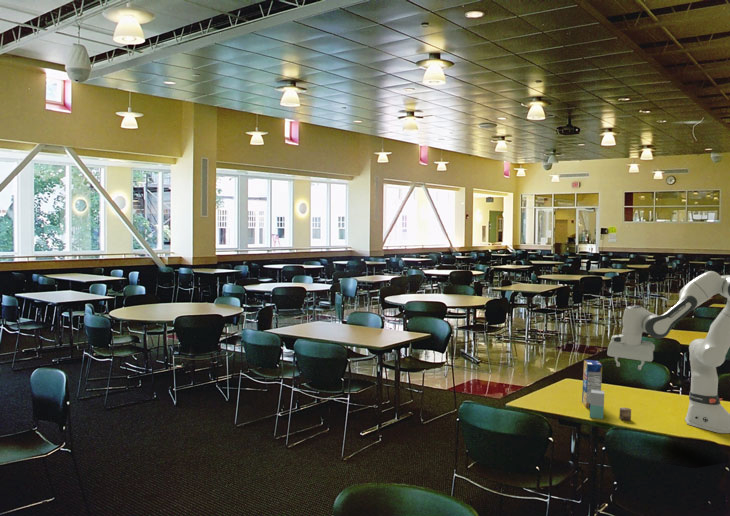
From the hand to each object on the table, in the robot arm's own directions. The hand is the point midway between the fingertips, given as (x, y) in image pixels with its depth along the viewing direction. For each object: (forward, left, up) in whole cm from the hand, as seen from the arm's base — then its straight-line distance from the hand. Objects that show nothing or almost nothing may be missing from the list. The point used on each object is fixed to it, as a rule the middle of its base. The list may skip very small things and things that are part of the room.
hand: (628, 367), depth 296 cm
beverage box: (+22, 0, -24) cm, 33 cm away
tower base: (+6, +12, -24) cm, 28 cm away
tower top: (+6, +12, -18) cm, 23 cm away
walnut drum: (-2, +2, -24) cm, 24 cm away
